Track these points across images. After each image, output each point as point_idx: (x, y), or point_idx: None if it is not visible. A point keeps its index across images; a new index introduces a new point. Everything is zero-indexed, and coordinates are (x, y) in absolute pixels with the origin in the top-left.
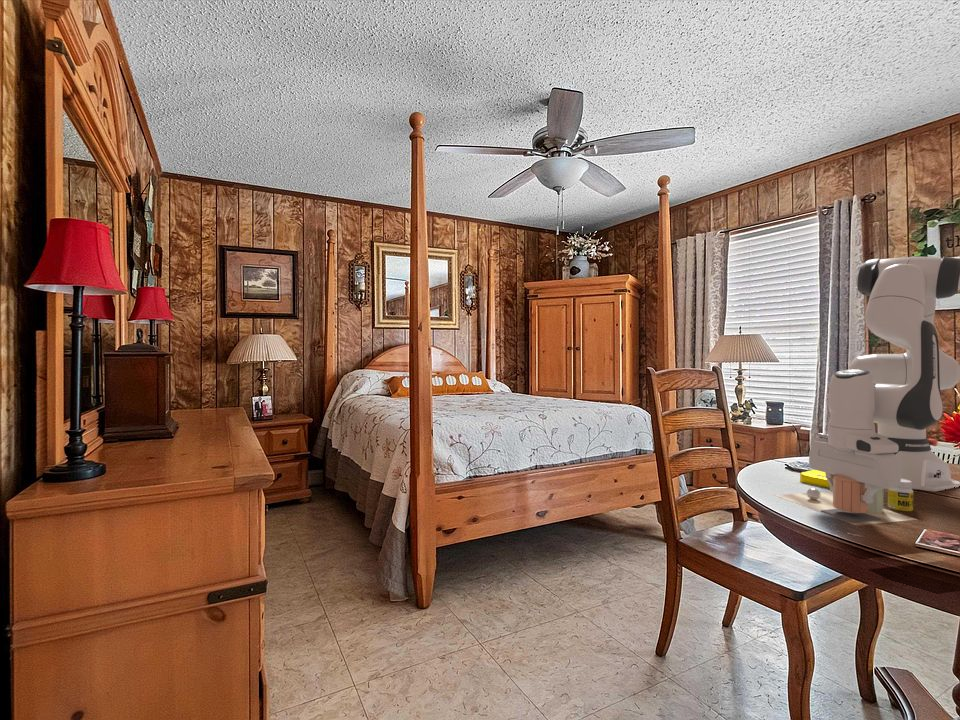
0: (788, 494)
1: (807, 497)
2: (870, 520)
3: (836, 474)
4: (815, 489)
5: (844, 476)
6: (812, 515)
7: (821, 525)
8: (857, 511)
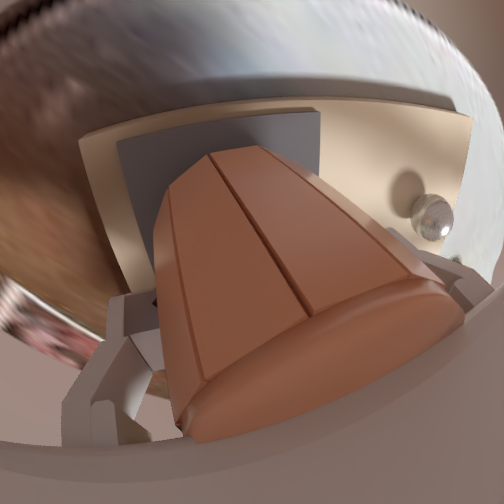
0: (464, 168)
1: None
2: (147, 254)
3: (449, 339)
4: (442, 231)
5: (368, 392)
6: (332, 95)
7: (196, 22)
8: (157, 223)
